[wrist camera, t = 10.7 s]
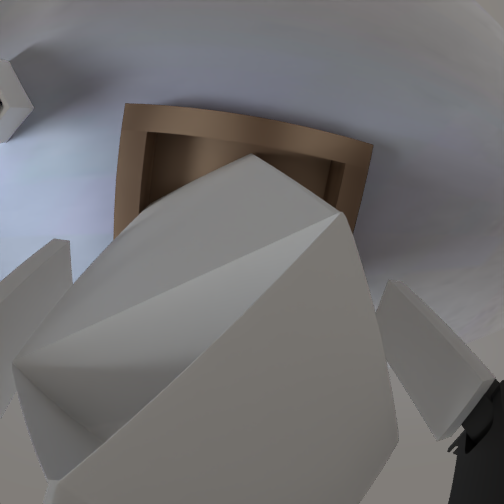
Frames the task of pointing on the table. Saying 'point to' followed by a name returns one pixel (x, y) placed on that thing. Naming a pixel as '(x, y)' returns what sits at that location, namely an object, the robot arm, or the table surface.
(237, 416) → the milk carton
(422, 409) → the robot arm
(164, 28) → the table surface
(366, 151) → the square wooden tray
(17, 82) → the white angled block
